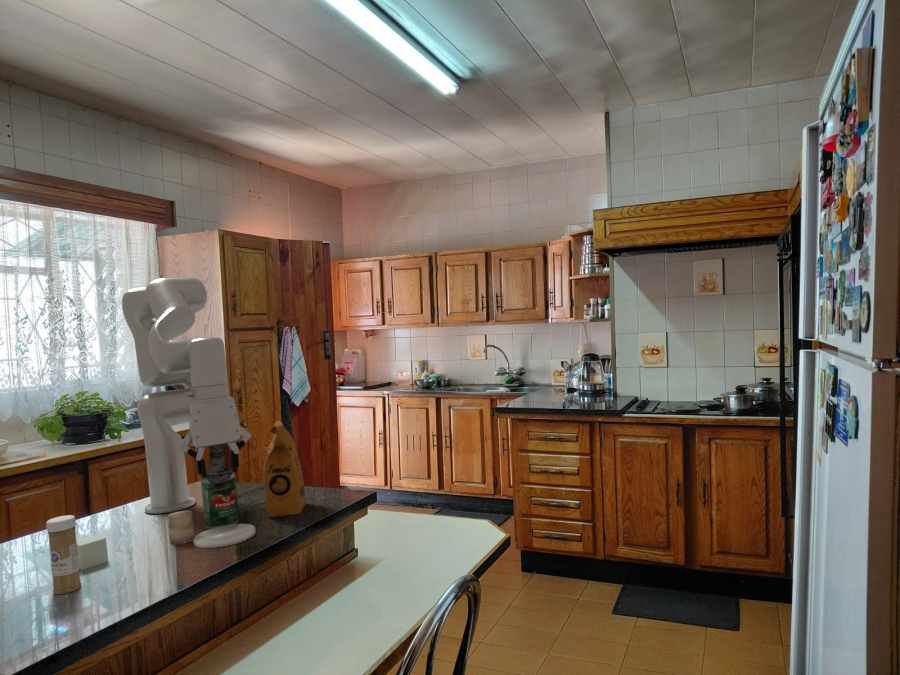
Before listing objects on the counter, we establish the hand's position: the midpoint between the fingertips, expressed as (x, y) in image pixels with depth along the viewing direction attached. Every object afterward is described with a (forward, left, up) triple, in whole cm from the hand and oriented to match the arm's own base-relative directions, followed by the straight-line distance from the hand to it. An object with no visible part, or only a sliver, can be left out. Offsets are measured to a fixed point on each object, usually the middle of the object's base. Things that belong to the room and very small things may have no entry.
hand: (218, 473), depth 140 cm
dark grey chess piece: (0, 0, -3) cm, 3 cm away
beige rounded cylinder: (-6, -8, -14) cm, 18 cm away
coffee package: (-11, +17, -15) cm, 25 cm away
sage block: (-5, -26, -15) cm, 30 cm away
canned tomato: (-13, +2, -15) cm, 20 cm away
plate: (0, 0, -14) cm, 14 cm away
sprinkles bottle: (+9, -30, -15) cm, 35 cm away
